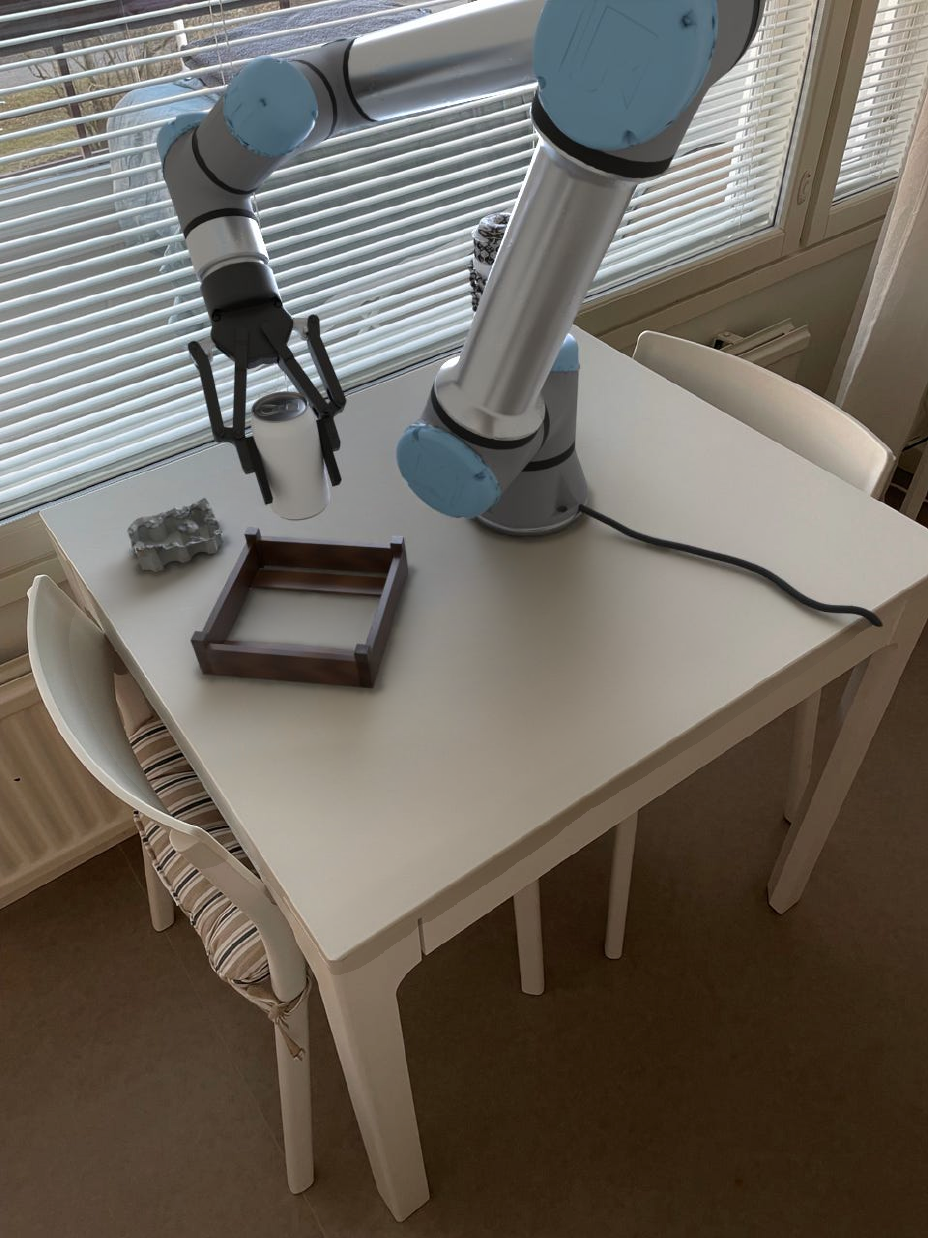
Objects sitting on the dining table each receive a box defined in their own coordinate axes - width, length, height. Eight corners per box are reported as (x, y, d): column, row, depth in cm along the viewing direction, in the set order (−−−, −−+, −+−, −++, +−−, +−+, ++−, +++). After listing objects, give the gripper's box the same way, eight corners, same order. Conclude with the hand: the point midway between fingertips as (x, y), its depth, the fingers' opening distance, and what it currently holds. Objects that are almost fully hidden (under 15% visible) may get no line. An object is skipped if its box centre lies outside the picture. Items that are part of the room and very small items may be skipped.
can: (272, 488, 102) (249, 392, 94) (331, 483, 103) (313, 385, 94) (269, 525, 98) (244, 426, 89) (330, 519, 98) (312, 420, 90)
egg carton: (141, 578, 112) (131, 552, 109) (131, 542, 117) (121, 516, 114) (228, 551, 115) (220, 525, 112) (215, 517, 120) (207, 492, 117)
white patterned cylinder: (487, 370, 143) (481, 202, 125) (544, 380, 140) (546, 209, 122) (464, 400, 137) (454, 228, 119) (523, 411, 134) (522, 236, 117)
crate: (408, 570, 110) (404, 536, 107) (373, 688, 97) (366, 654, 94) (256, 560, 113) (247, 526, 110) (202, 674, 100) (190, 640, 96)
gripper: (323, 271, 101) (388, 475, 101) (142, 309, 96) (210, 523, 96) (330, 239, 93) (399, 459, 94) (134, 279, 89) (207, 511, 89)
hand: (303, 491), depth 95 cm, fingers closed on can, 6 cm apart
